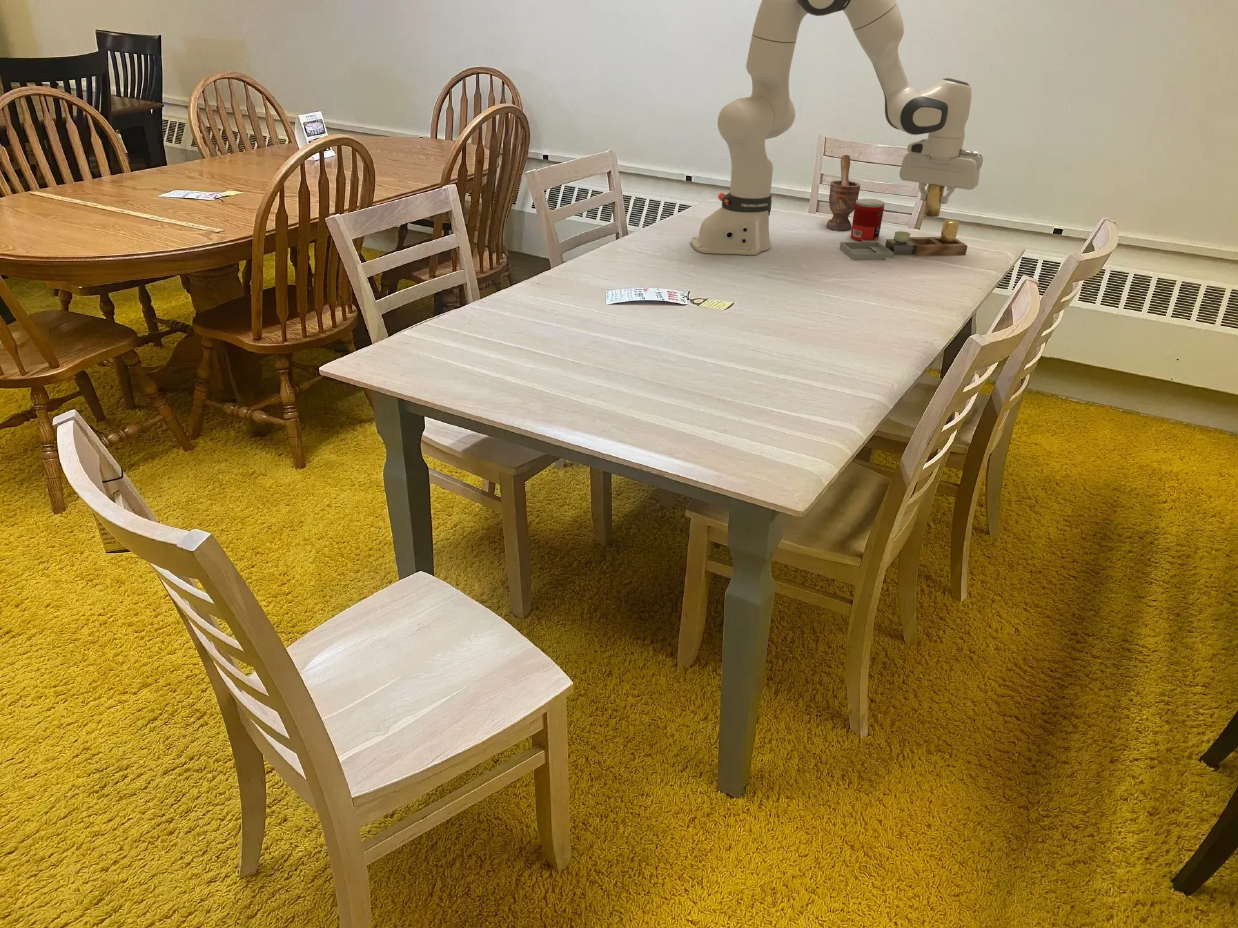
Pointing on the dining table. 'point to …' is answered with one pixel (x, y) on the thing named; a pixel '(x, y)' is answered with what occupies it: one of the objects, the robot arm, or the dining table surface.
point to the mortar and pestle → (842, 198)
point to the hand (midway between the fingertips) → (933, 202)
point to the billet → (933, 200)
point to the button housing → (900, 247)
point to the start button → (901, 237)
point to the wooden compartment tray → (937, 247)
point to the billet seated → (949, 231)
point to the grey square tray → (865, 250)
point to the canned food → (867, 219)
